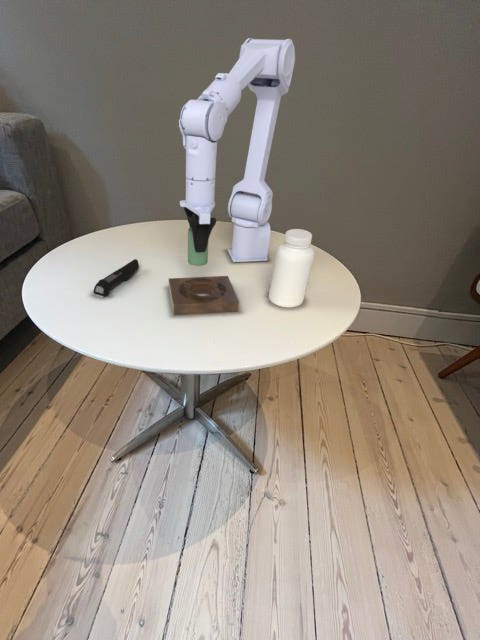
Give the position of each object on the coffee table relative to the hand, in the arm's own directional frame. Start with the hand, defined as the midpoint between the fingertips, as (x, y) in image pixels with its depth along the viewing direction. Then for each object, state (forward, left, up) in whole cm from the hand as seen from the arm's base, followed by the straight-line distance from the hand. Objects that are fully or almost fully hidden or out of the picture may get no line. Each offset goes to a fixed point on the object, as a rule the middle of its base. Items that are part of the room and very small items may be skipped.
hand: (198, 246), depth 83 cm
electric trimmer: (+18, -6, -11) cm, 22 cm away
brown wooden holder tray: (0, +4, -11) cm, 11 cm away
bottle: (0, 0, -3) cm, 3 cm away
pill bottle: (-19, +6, -11) cm, 23 cm away
